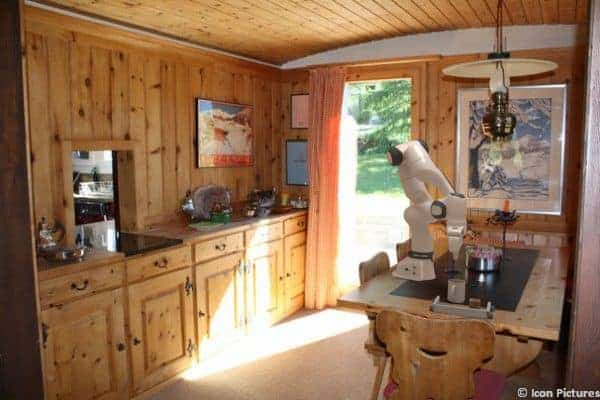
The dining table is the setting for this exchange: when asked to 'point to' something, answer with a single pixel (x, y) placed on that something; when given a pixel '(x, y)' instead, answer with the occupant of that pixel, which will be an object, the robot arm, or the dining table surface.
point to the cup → (456, 290)
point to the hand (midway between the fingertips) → (455, 258)
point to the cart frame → (461, 310)
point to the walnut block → (474, 304)
